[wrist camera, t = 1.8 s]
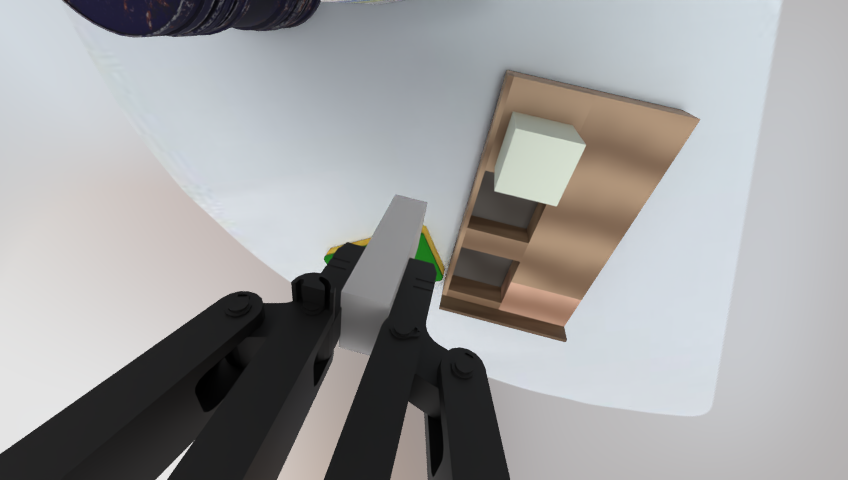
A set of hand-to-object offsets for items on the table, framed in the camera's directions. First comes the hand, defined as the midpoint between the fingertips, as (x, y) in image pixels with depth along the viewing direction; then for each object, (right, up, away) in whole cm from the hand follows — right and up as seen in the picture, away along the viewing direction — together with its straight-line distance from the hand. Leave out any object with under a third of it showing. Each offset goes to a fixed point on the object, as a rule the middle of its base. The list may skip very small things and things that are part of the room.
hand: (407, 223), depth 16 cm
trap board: (+13, +2, +19) cm, 23 cm away
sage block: (+10, +7, +13) cm, 18 cm away
